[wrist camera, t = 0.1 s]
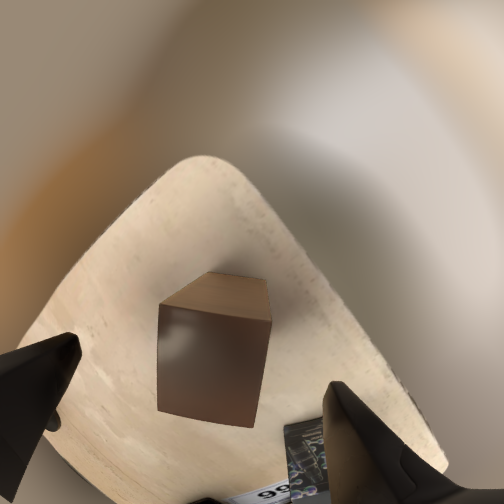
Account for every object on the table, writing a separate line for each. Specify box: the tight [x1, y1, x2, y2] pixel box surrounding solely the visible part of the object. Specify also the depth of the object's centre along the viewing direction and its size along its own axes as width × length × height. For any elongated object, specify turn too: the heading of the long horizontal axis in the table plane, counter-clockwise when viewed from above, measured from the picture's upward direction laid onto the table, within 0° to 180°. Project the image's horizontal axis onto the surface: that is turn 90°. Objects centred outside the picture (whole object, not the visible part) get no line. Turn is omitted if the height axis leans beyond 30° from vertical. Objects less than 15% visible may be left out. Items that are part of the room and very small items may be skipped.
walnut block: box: [157, 272, 272, 428], centre depth 18 cm, size 6×5×12 cm
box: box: [284, 418, 331, 504], centre depth 19 cm, size 8×6×11 cm
